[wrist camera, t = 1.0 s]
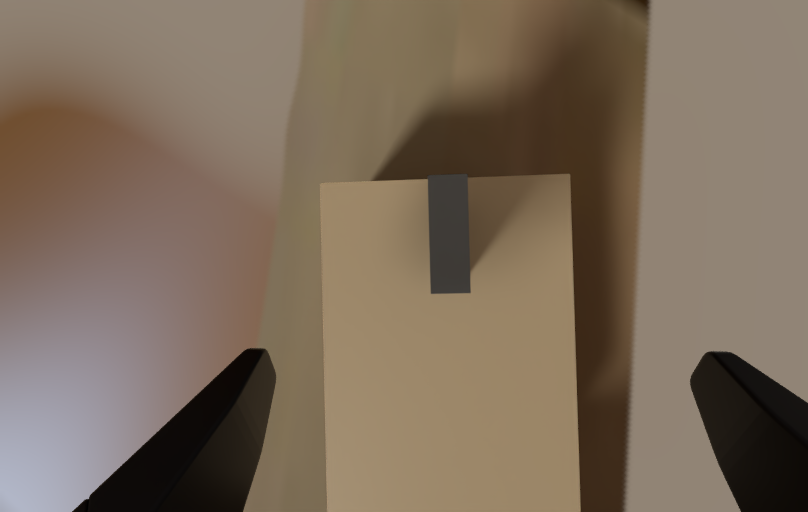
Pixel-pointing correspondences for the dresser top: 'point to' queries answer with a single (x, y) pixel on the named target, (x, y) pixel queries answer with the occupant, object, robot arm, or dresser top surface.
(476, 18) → the dresser top surface
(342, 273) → the carton lid
